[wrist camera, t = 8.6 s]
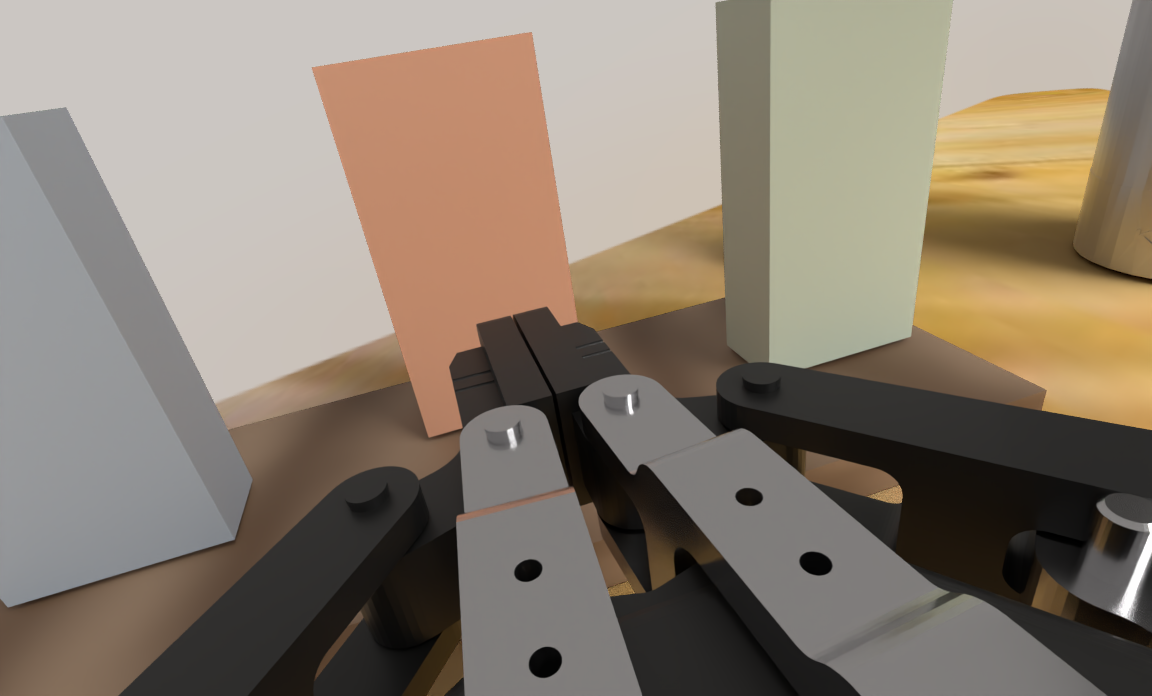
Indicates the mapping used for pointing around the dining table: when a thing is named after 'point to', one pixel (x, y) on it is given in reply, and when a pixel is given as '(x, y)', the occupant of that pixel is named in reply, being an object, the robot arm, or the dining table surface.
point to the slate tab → (93, 386)
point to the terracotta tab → (451, 197)
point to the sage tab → (825, 170)
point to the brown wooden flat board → (399, 438)
